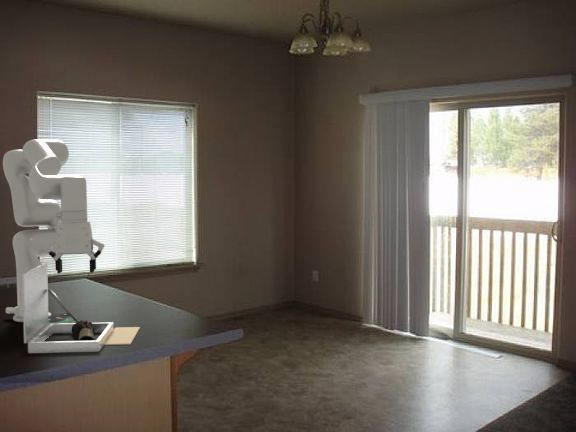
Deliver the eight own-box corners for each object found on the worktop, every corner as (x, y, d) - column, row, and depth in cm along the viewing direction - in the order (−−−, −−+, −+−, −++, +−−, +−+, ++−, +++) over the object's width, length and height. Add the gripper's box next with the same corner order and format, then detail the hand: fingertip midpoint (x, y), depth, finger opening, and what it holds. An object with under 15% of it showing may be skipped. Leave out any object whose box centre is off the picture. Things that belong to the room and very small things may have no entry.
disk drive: (37, 324, 217) (50, 333, 205) (37, 316, 217) (50, 324, 205) (67, 320, 223) (81, 328, 211) (67, 312, 223) (81, 320, 211)
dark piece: (95, 349, 186) (94, 330, 186) (71, 351, 184) (71, 332, 183) (94, 333, 203) (93, 316, 202) (72, 335, 201) (71, 318, 200)
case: (24, 353, 180) (22, 274, 179) (47, 332, 203) (45, 262, 202) (99, 351, 182) (97, 273, 181) (113, 331, 205) (112, 261, 204)
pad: (103, 345, 189) (103, 343, 189) (115, 328, 209) (115, 327, 209) (130, 344, 190) (130, 343, 190) (139, 328, 209) (139, 326, 209)
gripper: (41, 217, 186) (43, 275, 187) (100, 216, 187) (102, 273, 188) (48, 216, 193) (50, 271, 194) (105, 215, 195) (107, 270, 196)
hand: (76, 272), depth 191 cm, fingers open, 9 cm apart
